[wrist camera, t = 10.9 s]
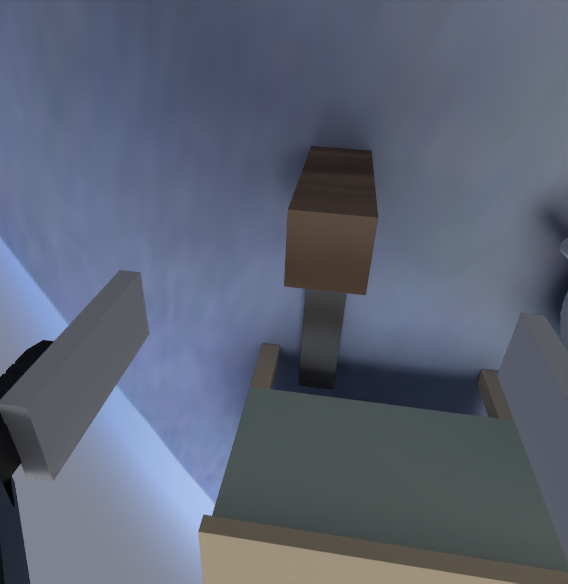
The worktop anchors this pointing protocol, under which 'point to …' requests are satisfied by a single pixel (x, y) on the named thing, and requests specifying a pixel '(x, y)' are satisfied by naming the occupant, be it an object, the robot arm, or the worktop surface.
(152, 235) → the worktop surface
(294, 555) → the cabinet
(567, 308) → the mug
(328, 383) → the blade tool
